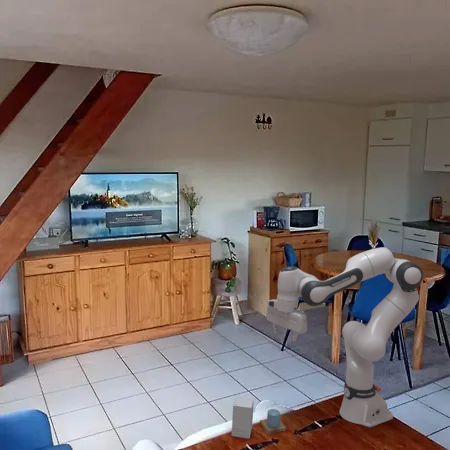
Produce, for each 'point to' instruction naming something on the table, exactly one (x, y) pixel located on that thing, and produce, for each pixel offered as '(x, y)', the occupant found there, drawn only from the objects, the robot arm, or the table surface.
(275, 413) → the teal cap
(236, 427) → the supplement box
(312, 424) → the table surface
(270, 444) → the table surface
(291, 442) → the table surface
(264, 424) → the post base
